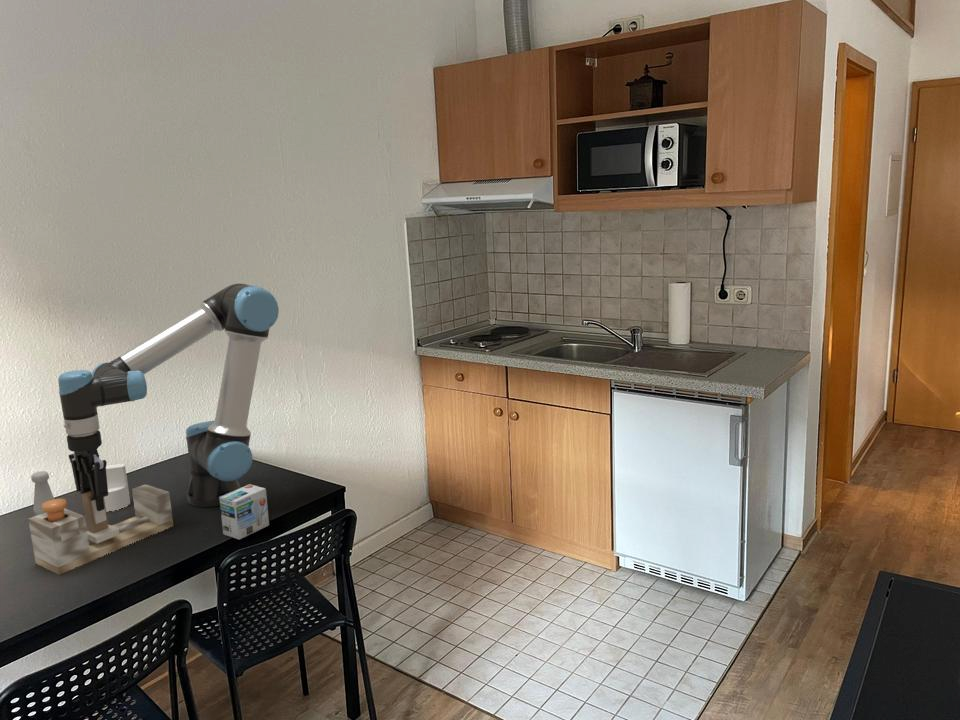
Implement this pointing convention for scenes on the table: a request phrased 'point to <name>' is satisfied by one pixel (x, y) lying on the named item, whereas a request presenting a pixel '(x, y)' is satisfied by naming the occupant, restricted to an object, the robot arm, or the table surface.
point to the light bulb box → (244, 511)
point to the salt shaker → (41, 491)
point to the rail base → (68, 537)
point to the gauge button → (54, 509)
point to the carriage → (99, 530)
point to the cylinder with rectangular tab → (116, 488)
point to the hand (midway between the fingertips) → (96, 519)
